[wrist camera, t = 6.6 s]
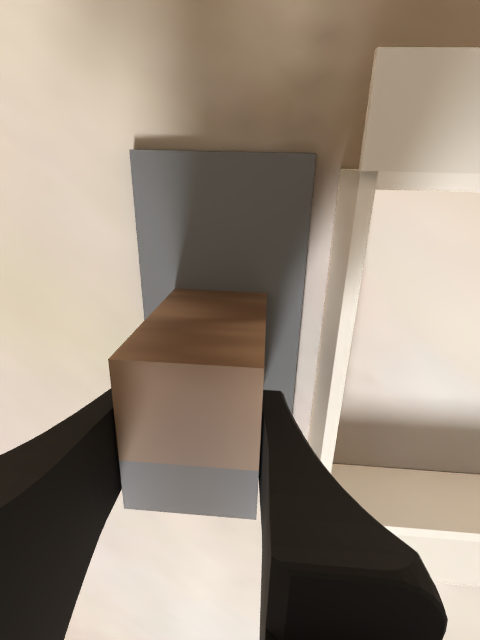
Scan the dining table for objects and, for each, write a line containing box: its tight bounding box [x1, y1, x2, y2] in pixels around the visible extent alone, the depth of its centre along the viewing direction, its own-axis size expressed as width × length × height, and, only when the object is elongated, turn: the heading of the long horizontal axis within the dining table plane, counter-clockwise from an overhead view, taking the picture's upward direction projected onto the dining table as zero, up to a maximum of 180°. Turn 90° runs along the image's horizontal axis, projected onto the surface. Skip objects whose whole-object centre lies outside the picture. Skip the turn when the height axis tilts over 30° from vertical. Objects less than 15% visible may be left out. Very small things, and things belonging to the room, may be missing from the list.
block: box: [108, 289, 267, 520], centre depth 14 cm, size 4×5×7 cm
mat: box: [129, 150, 316, 478], centre depth 17 cm, size 7×16×1 cm, turn 179°
